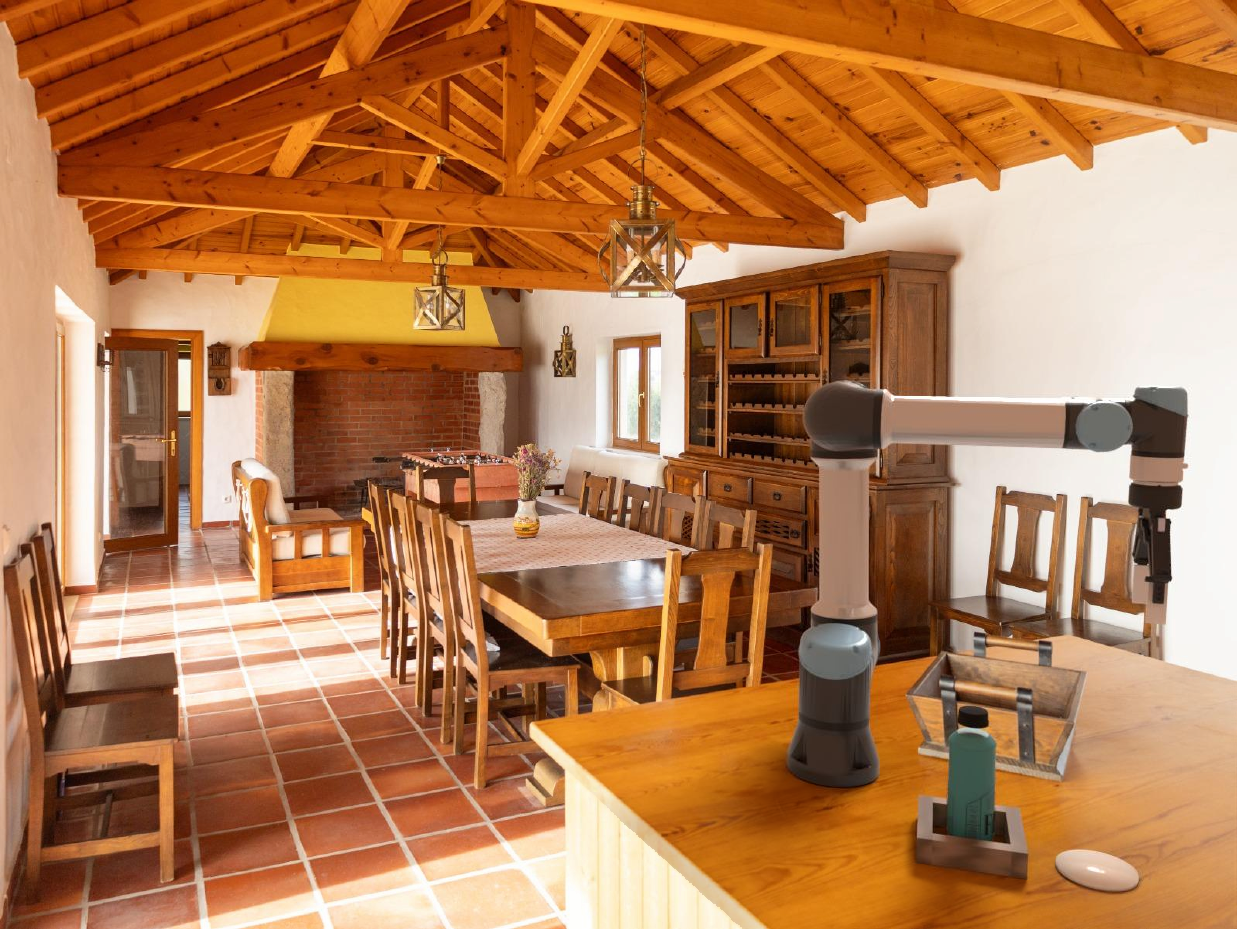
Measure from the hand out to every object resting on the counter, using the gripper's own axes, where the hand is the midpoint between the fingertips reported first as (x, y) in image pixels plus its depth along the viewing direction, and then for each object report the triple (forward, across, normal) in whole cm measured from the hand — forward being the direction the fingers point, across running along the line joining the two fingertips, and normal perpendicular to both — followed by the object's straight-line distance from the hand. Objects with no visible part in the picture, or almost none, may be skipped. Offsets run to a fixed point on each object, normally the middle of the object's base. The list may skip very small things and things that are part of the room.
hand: (1147, 613), depth 157 cm
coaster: (+28, -36, +10) cm, 46 cm away
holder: (+28, -34, +26) cm, 51 cm away
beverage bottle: (+28, -34, +26) cm, 51 cm away
